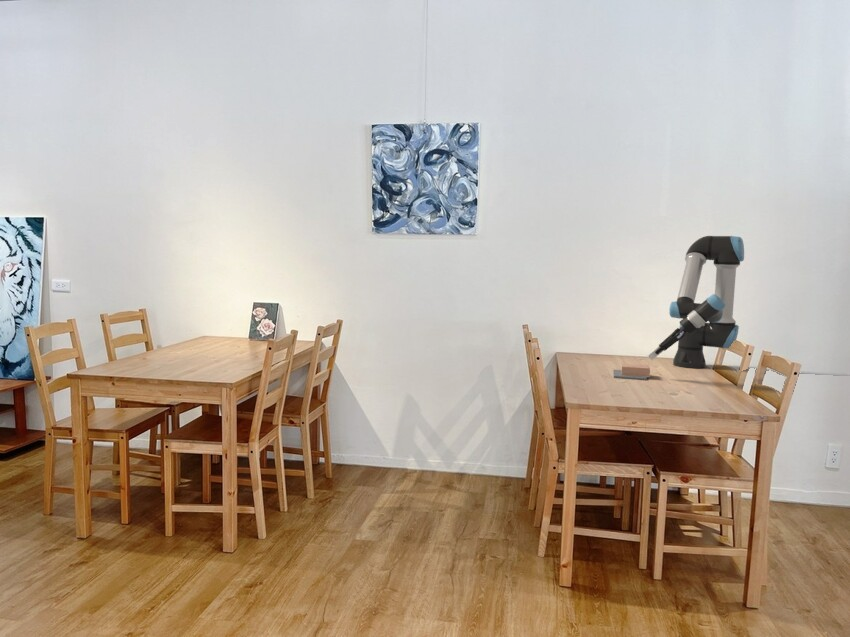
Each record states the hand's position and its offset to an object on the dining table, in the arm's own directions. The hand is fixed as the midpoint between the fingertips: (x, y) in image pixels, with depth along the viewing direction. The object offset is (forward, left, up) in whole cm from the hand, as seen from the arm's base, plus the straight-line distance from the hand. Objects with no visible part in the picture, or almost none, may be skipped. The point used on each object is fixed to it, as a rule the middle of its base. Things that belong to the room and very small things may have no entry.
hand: (649, 357), depth 297 cm
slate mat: (+7, -4, -9) cm, 12 cm away
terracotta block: (0, 0, -6) cm, 6 cm away
